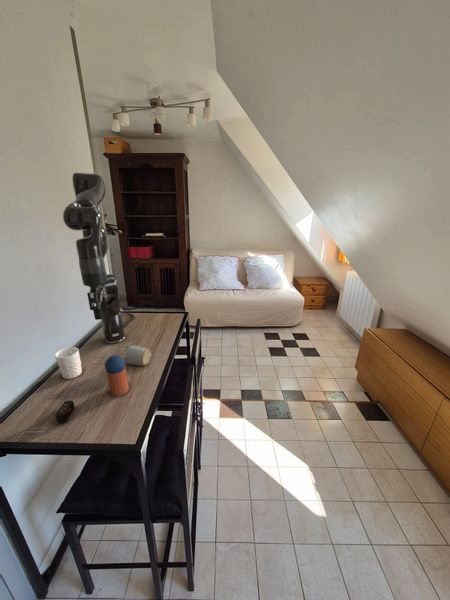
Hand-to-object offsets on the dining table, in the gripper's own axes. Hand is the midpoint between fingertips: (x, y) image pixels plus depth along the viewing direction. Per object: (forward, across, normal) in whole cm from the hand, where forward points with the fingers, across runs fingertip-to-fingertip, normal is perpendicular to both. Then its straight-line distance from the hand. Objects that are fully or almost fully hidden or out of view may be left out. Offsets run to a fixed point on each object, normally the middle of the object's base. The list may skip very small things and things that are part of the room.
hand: (101, 314), depth 89 cm
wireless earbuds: (+26, -18, +11) cm, 34 cm away
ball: (+15, -10, -4) cm, 19 cm away
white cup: (+27, +5, +16) cm, 32 cm away
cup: (+26, -10, -4) cm, 28 cm away
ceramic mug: (+27, +7, -10) cm, 29 cm away
